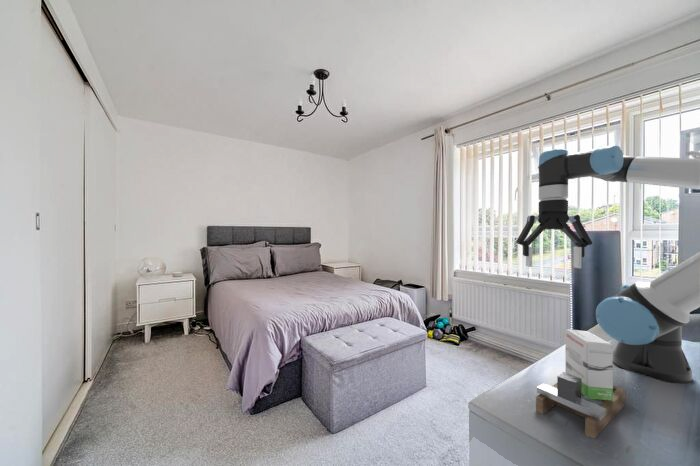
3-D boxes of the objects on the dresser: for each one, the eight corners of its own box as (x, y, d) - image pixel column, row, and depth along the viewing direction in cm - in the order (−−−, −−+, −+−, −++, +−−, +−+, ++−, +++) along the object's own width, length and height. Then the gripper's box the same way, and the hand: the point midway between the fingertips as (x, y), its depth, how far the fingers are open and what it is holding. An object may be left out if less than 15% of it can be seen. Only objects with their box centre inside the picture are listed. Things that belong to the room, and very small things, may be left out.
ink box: (614, 402, 56) (614, 344, 56) (586, 398, 57) (586, 342, 57) (588, 380, 64) (588, 329, 64) (563, 377, 66) (564, 328, 66)
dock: (573, 384, 68) (573, 371, 68) (625, 403, 60) (625, 390, 60) (536, 411, 58) (536, 396, 58) (593, 439, 50) (593, 422, 50)
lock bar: (543, 388, 61) (543, 365, 61) (605, 414, 52) (605, 387, 52) (537, 392, 59) (537, 368, 59) (600, 420, 50) (600, 392, 50)
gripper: (590, 200, 88) (590, 266, 88) (505, 202, 93) (505, 264, 93) (607, 197, 81) (607, 269, 81) (514, 199, 86) (514, 267, 86)
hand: (552, 267), depth 87 cm, fingers open, 13 cm apart
